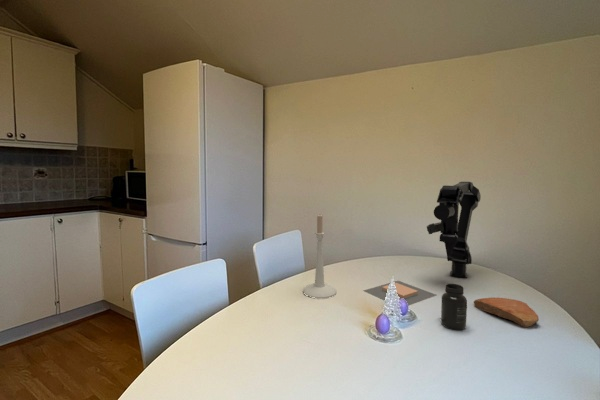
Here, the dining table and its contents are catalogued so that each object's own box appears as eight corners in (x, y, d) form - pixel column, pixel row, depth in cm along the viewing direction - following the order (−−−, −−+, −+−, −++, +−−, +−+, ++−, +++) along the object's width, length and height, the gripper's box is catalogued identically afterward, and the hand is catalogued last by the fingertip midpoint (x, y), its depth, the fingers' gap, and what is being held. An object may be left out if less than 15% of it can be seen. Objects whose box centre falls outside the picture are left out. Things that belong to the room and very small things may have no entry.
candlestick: (297, 295, 116) (297, 215, 113) (309, 284, 128) (309, 211, 125) (330, 301, 111) (331, 217, 108) (340, 288, 123) (340, 212, 120)
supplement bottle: (463, 321, 96) (465, 283, 95) (467, 332, 90) (470, 292, 88) (439, 318, 98) (441, 281, 97) (441, 328, 92) (443, 289, 91)
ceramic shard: (493, 309, 93) (472, 296, 108) (496, 332, 92) (475, 315, 107) (546, 305, 91) (517, 293, 106) (550, 328, 91) (521, 312, 106)
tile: (396, 282, 123) (382, 286, 119) (417, 291, 115) (403, 295, 111) (396, 286, 123) (381, 290, 119) (417, 294, 115) (403, 299, 111)
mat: (398, 281, 130) (398, 280, 130) (437, 296, 115) (437, 295, 115) (362, 291, 119) (362, 290, 119) (401, 309, 104) (401, 308, 104)
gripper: (430, 212, 136) (429, 247, 138) (426, 218, 120) (424, 258, 121) (459, 214, 131) (457, 250, 133) (458, 221, 115) (456, 262, 116)
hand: (448, 255), depth 126 cm, fingers closed
